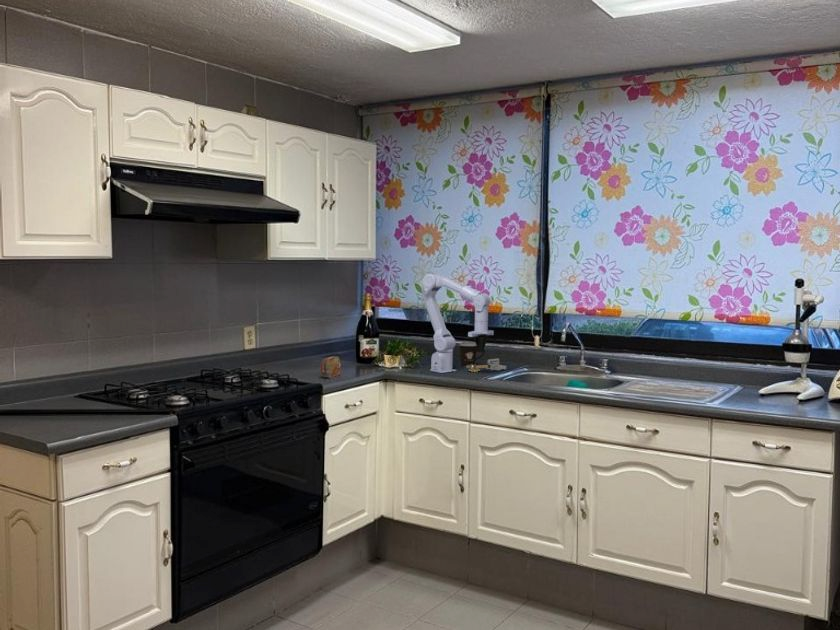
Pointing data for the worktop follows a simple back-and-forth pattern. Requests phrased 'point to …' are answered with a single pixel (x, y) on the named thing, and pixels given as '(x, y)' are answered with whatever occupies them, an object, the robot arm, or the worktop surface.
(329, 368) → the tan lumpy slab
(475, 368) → the cam
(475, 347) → the coffee mug
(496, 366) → the stand
